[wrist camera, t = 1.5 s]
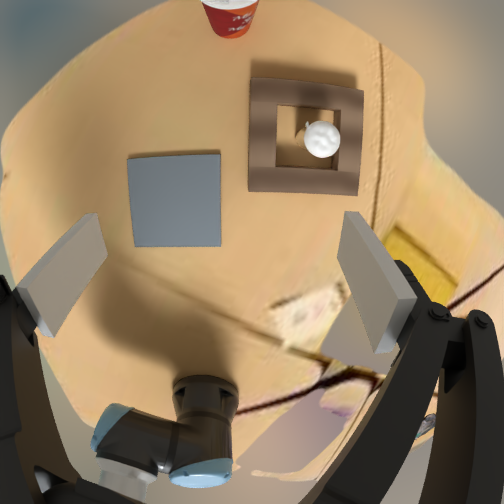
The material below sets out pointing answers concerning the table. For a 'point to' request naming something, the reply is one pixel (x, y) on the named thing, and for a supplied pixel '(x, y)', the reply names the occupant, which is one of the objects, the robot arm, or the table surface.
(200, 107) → the table surface
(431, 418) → the terrain model
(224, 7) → the paper cup
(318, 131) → the milkshake
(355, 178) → the pocket block
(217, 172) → the mat
